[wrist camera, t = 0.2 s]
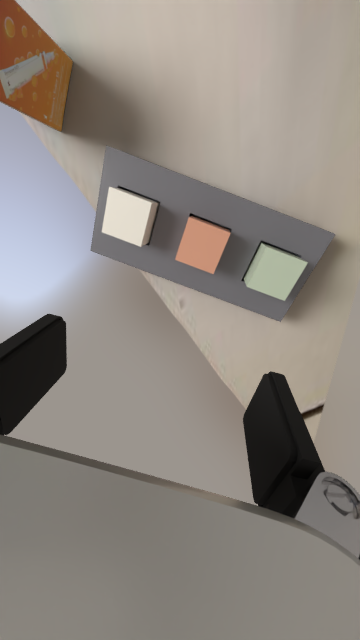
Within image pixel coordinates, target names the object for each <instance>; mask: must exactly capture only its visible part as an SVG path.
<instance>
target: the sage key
mask: <svg viewBox="0 0 360 640" xmlns="http://www.w3.org/2000/svg"><path fill="white" fill-rule="evenodd" d="M307 263H308V262H306V261H304V260H303V259H301V258H299V257H298V256H296V255H294V254H291V253H289V252H286V251H283V250H281V249H278V248H275V247H273V246H270V245H268V244H265V243H262V242H260V243H259V245H258V247H257V249H256V251H255V253H254V255H253V258H252V260H251V262H250V264H249V266H248V268H247V270H246V272H245V274H244V276H243V278H244V281H245V283H246V286H247V287H249V288H251V289H254V290H257V291H259V292H262V293H265V294H267V295H270V296H273V297H275V298H278V299H281V300H283V301H285V300H286V298H287V296H288V295H289V293H290V291H291V290H292V288H293V286H294V285H295V283H296V282H297V280H298V278H299V277H300V275H301V273H302V272H303V270H304V268H305V267H306V265H307Z"/></svg>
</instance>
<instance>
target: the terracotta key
mask: <svg viewBox="0 0 360 640" xmlns="http://www.w3.org/2000/svg"><path fill="white" fill-rule="evenodd" d="M230 234H231V233H230V231H229V230H228V229H226V228H223V227H221V226H218V225H215V224H213V223H210V222H208V221H205V220H202V219H200V218H197V217H195V216H190V217H189V218H188V221H187V224H186V227H185V230H184V233H183V236H182V240H181V243H180V246H179V249H178V252H177V255H176V258H175V260H177V261H180V262H182V263H185V264H188V265H190V266H193V267H196V268H198V269H201V270H204V271H206V272H209V273H212V274H214V272H215V269H216V267H217V265H218V262H219V260H220V257H221V255H222V253H223V250H224V248H225V245H226V243H227V241H228V238H229V236H230Z"/></svg>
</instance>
